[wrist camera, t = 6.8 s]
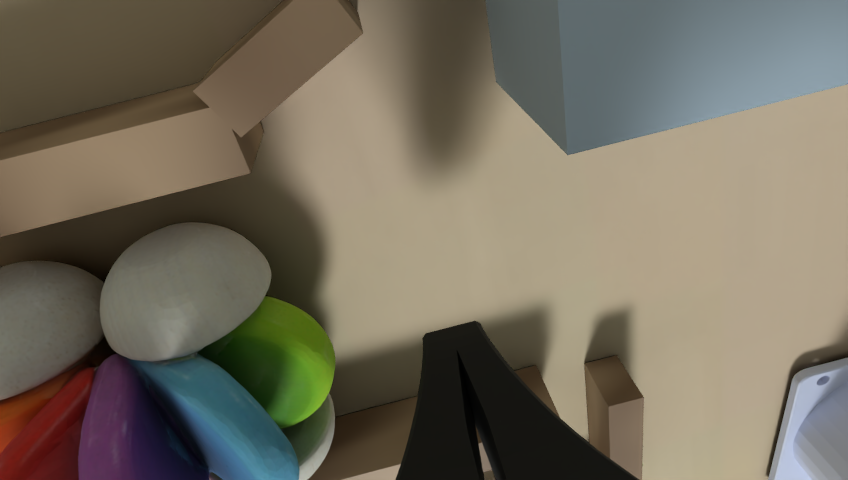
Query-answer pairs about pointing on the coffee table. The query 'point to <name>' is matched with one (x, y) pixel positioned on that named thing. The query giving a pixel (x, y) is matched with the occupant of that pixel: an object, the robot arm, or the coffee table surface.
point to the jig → (234, 156)
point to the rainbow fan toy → (161, 367)
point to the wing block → (660, 61)
